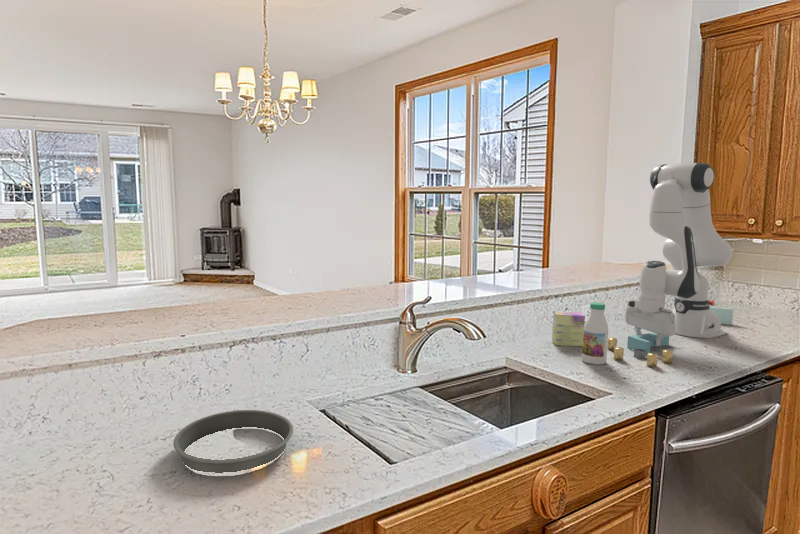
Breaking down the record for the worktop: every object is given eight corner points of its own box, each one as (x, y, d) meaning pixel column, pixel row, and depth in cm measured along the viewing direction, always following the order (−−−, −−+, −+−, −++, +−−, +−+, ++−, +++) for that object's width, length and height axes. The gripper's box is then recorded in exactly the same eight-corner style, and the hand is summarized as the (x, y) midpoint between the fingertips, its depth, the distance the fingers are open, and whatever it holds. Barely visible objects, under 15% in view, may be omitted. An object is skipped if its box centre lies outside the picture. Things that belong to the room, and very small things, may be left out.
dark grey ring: (285, 480, 104) (285, 459, 103) (156, 485, 102) (154, 463, 101) (299, 425, 128) (299, 407, 127) (194, 427, 126) (194, 409, 125)
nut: (637, 354, 186) (638, 347, 186) (648, 357, 183) (648, 350, 182) (631, 356, 185) (631, 349, 184) (641, 359, 181) (642, 352, 181)
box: (579, 342, 200) (581, 312, 199) (583, 346, 195) (585, 315, 193) (551, 341, 201) (553, 311, 200) (554, 345, 196) (556, 314, 194)
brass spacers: (626, 346, 196) (627, 335, 196) (676, 364, 176) (678, 352, 175) (591, 350, 190) (592, 339, 190) (638, 369, 170) (639, 357, 169)
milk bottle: (588, 356, 183) (592, 300, 180) (610, 361, 178) (614, 303, 175) (577, 361, 178) (581, 303, 175) (599, 367, 172) (603, 307, 169)
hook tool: (663, 343, 201) (664, 331, 200) (682, 349, 193) (683, 337, 193) (627, 347, 194) (628, 335, 194) (645, 354, 186) (646, 342, 186)
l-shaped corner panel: (731, 326, 230) (733, 309, 229) (700, 322, 235) (701, 306, 234) (728, 320, 241) (729, 304, 240) (698, 317, 246) (699, 301, 245)
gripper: (681, 310, 186) (678, 348, 188) (636, 299, 205) (633, 334, 207) (668, 312, 184) (664, 350, 186) (623, 300, 203) (621, 335, 205)
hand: (648, 341), depth 196 cm, fingers open, 7 cm apart
